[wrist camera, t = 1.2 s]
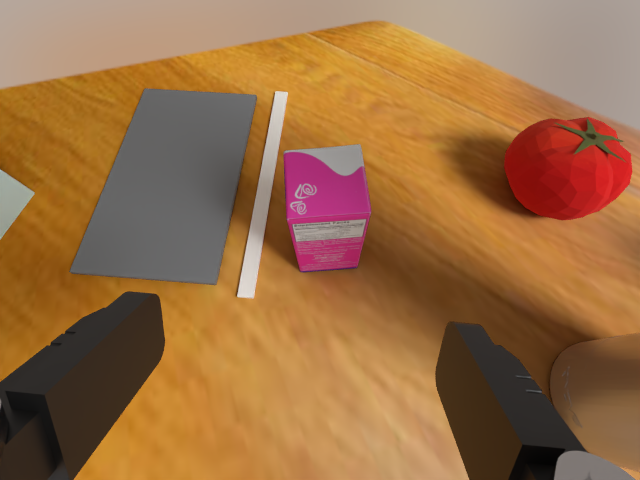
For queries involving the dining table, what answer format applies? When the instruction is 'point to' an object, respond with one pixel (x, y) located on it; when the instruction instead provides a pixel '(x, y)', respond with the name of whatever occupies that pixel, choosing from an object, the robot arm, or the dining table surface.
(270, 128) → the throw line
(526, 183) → the tomato
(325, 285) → the dining table surface
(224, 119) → the mat
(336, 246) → the supplement box
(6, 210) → the l-shaped corner panel
